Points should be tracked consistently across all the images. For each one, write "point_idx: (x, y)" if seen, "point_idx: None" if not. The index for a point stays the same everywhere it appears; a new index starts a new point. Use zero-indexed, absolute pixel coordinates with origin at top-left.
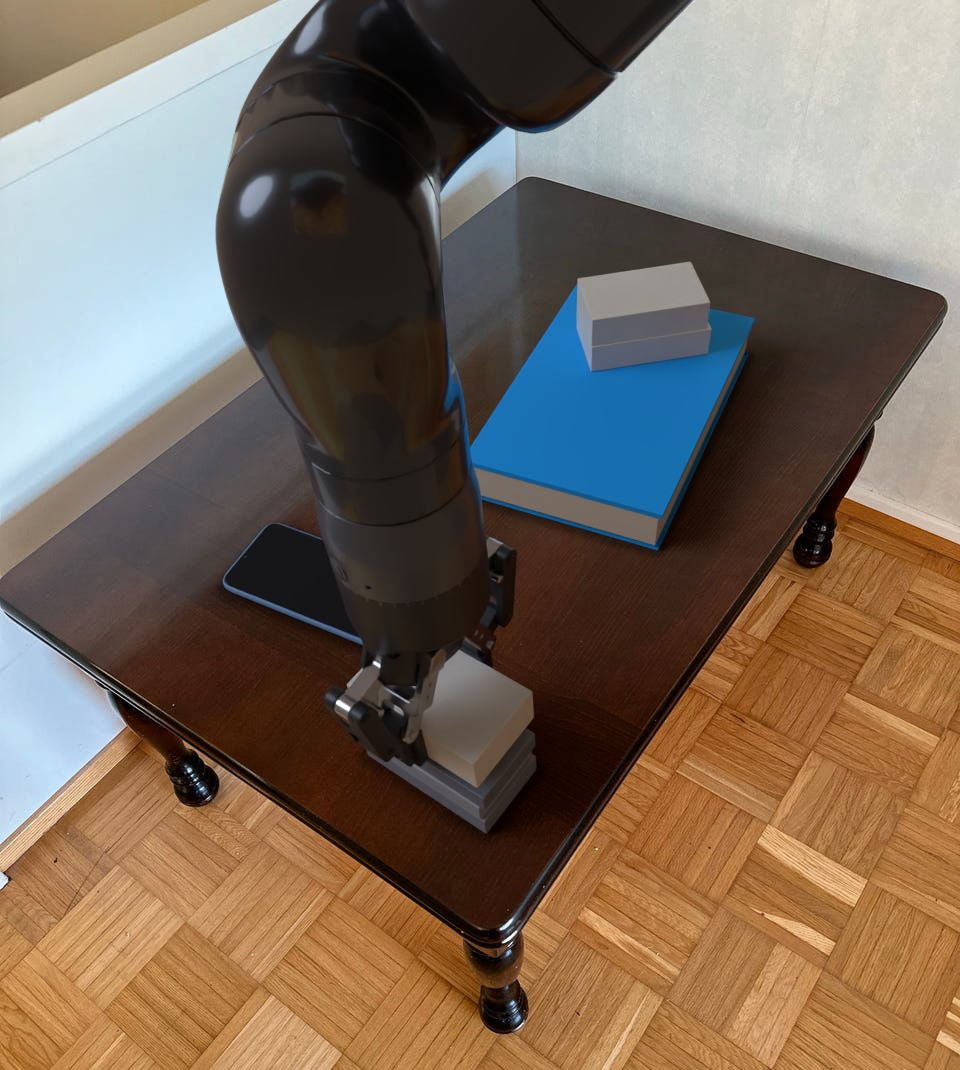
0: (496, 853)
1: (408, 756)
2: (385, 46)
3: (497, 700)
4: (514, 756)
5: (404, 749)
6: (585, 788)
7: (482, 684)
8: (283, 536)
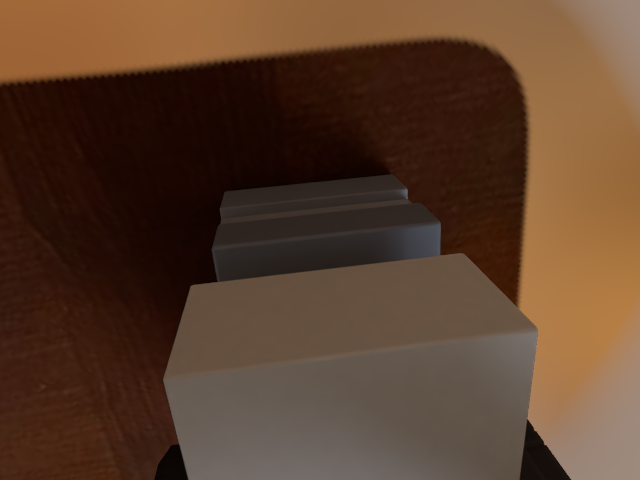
0: (411, 133)
1: (530, 438)
2: None
3: (284, 432)
4: (300, 243)
5: (563, 476)
6: (184, 84)
7: None
8: None
